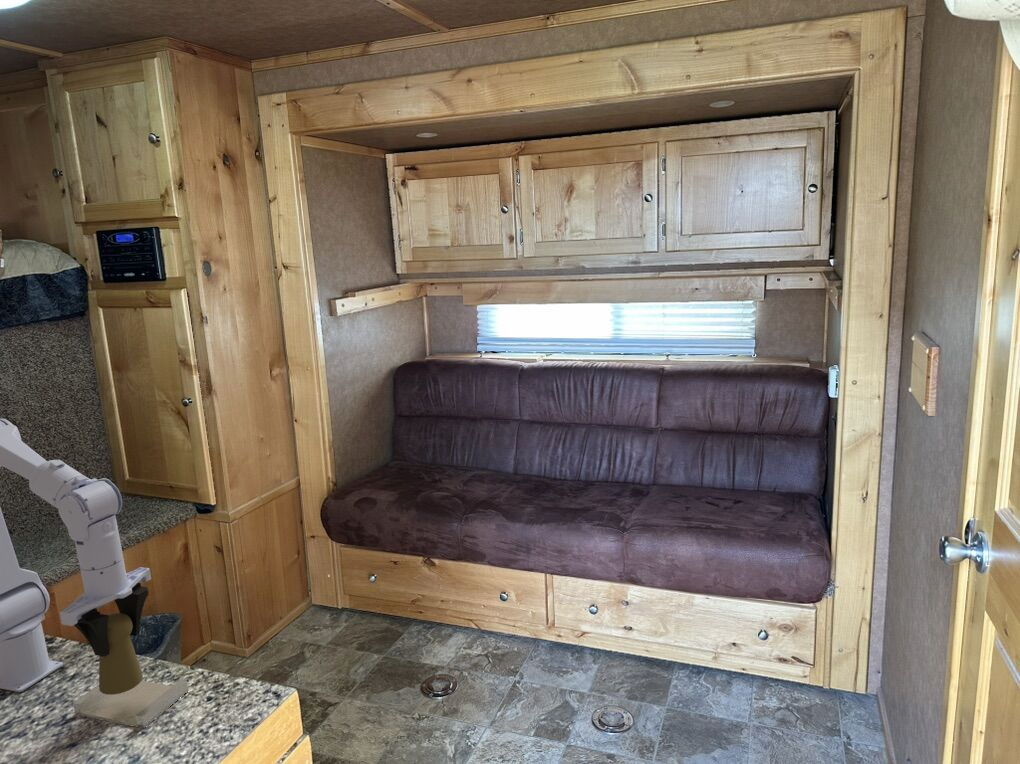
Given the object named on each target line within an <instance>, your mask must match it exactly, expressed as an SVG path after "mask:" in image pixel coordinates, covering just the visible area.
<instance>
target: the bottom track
mask: <svg viewBox="0 0 1020 764" xmlns="http://www.w3.org/2000/svg"><path fill="white" fill-rule="evenodd" d="M188 685H189V684H188V680H186V679H179V680H178V681H177V682H175V683H174V684H173V685H168V684H161V683H156V682H150V681H145V680H142V681H141V682H140V683H139V684H138V685H137V686H136V687H134V688H132V689H131V690H129V691H126V692H123V693H120V694H114V695H107V694H103V693H102V692H100V690H99V684H98V685H97V686H95V687H94V688H92V689H91V690H89V691H88V692H87V693H85V694H84V695H82V696H81V697H80V698H78V699H77V700H75V701H74V702H73V703H72V704H73V709H74V714H76V715H75V716H81V717H84V716H86V718H89V717H90V719H94V718H96V719H95V720H99V719H101V721H104V720H106V721H105V722H109V721H111V723H114V722H115V723H114V724H119V723H121V724H120V725H124V724H127V725H126V726H129V725H133V726H132V727H134V726H135V728H139V727H141V728H140V729H146V728H147V727H148V726H149V725H151V724H152V723H153V722H154V721H155V720H156V719H158V718H159V717H160V716H161V715H162V714H164V713H165V712H166V711H167V710H169V709H170V708H171V707H172V706H173V705H175V704H176V703H177V702H178V701H179V700H181V699H180V697H182V696H183V695H184V694H185V693H187V692H188V691H190V690H189V686H188ZM188 693H189V692H188ZM188 693H187V694H188ZM185 695H186V694H185ZM185 695H184V696H185ZM184 696H183V697H184ZM183 697H182V698H183ZM177 700H178V701H177ZM176 701H177V702H176ZM175 702H176V703H175ZM174 703H175V704H174ZM172 704H173V705H172ZM171 705H172V706H171ZM170 706H171V707H170ZM169 707H170V708H169ZM168 708H169V709H168ZM164 711H165V712H164ZM163 712H164V713H163ZM159 715H160V716H159ZM158 716H159V717H158ZM157 717H158V718H157ZM155 718H156V719H155ZM154 719H155V720H154ZM153 720H154V721H153ZM152 721H153V722H152ZM151 722H152V723H151ZM147 725H148V726H147ZM136 726H137V727H136ZM146 726H147V727H146ZM145 727H146V728H145Z"/></svg>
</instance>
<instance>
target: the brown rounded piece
mask: <svg viewBox="0 0 1020 764" xmlns="http://www.w3.org/2000/svg"><path fill="white" fill-rule="evenodd" d="M108 615H109V618H108V624H107V637H108V643H109V655H107V656H105V657H104V656H99V661H98V662H99V663H98V666H99V667H98V669H99V671H98V674H99V675H98V685H99V690H100V692H102V693H103V694H107V695H114V694H120V693H123V692H126V691H129V690H131V689H132V688H134V687H136V686H137V685H138V684H139V683H140V682H141V681H143V678H144V677H143V673H142V670H141V667H140V663H139V660H138V657H137V654H136V651H135V647H134V644H133V641H132V638H131V635H130V634H131V632H132V627H133V625H132V621H131V619H130V617H129V616H128V615H126V614H122V613H120V612H119V613H112V614H108Z"/></svg>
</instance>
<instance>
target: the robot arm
mask: <svg viewBox="0 0 1020 764" xmlns="http://www.w3.org/2000/svg"><path fill="white" fill-rule="evenodd" d="M1 467H4V468H5V469H7V470H9V471H11V472H13V473H15V474H17V475H19V476H20V477H23V478H24V479H27V480H29V481H28V486H29V489H30V491H31V492H32V493H33V494H35V495H36V496H38V497H39V498H41V499H43V500H44V501H45V502H47V503H48V504H50V505H51V506H53V507H54V508H56V509H57V510H58V514H59V516H60V519H61V521H62V522H63V524H64V525H65V526H66V529H67V532H68V536H69V537H70V540H72V541H74V543H75V550H76V554H77V560H78V565H79V570H80V574H81V575H80V576H81V579H82V585H83V591H84V592H83V593H82V594H81V595H80V596H79V597H78V598H77V599H76V600H75V601H73V602H72V603H71V604H69V606H67V607H66V608H65V609H63V610H61V611H60V612H59V618H60V622H61V625H63V626H70V627H73V626H74V627H75V628H76V629H78V631H79V632H80V633H81V634H82V635H83V636H84V638H85V639H86V641H87V642H88V644H89V646H90V647H91V649H92V651H93V653H94V655H95V656H104V657H105V656H107V655H109V643H108V637H107V624H108V618H109V615H110V614H103V613H101V611H100V610H99V611H98V609H100V608H101V607H103V606H104V605H106V604H107V603H110V602H113V601H114V602H115V605H116V606H117V609H118V612H119V613H122V614H126V615H128V616H129V617H130V619H131V621H132V625H133V627H132V632H131V634H130V636H133V637H137V636H139V634H140V626H141V619H142V612H143V608H144V606H145V603H146V600H147V597H148V595H149V588H148V587H147V586H142V585H141V584H142V583H147V582H149V581H150V580H152V575H151V570H150V568H149V567H142V566H141V567H140V566H139V567H138V568H136V569H133V570H131V571H129V572H127V571H126V565H125V558H124V553H123V549H122V548H123V547H122V544H121V543H122V542H121V537H120V531H119V527H118V522H117V516H116V515H118V514H119V513H120V512H121V511H122V508H123V498H122V497H123V496H122V494H121V492H120V490H119V488H118V487H117V486H116V484H114V483H113V482H112V481H111V480H110V479H108V478H105V477H103V478H100V479H97V478H96V477H94V478H92V479H91V478H89V477H88V476H86V475H84V474H83V473H81V472H79V471H77V470H76V469H75V468H74V467H72V466H70V465H68V464H67V463H65V462H64V461H62V460H61V459H52V460H51V459H50V460H46V459H45V458H44V457H42V456H41V455H40V454H38V452H37V451H35V450H33V449H32V448H31V447H30V446H29V445H27V444H26V443H25V442H23V441H22V437H21V433H20V431H19V429H18V427H17V426H16V425H14V424H13V423H11V422H10V421H9V420H7V419H5V418H0V468H1ZM7 527H8V526H7V524H6V520H5V518H4V514H3V512H2V507H0V689H2V690H7V691H11V692H12V691H13V692H16V693H22V692H24V691H25V690H27V689H28V688H29V687H32V686H33V685H34V684H36V683H37V682H39V681H41V680H42V679H44V678H45V677H47V676H48V675H50V674H52V673H53V672H55V671H57V670H58V669H59V668H61V667H63V665H64V664H63V662H62V661H57V660H56V661H55V660H51V659H50V657H49V653H48V648H47V644H46V639H45V633H44V629H43V624H42V621H44V620H45V619H46V618H45V613H47V611H48V610H49V608H50V602H51V600H50V599H51V598H50V594H49V591H48V590H47V588H46V587H45V585H44V584H43V583H42V580H41V578H40V576H39V575H38V574H39V573H37V571H33V570H30V569H26V568H25V569H24V568H21V567H20V565H19V561H18V558H17V555H16V552H15V549H14V545H13V542H12V539H11V537H10V533H9V530H8V528H7Z"/></svg>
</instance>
